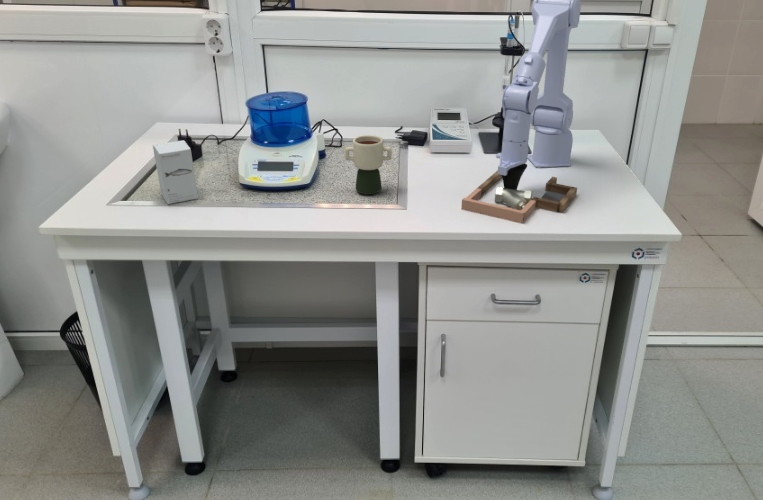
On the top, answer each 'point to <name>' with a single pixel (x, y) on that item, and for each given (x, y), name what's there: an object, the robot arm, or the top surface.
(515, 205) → the pipe fitting
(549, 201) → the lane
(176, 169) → the supplement box
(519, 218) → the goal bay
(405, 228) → the top surface
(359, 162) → the character mug
